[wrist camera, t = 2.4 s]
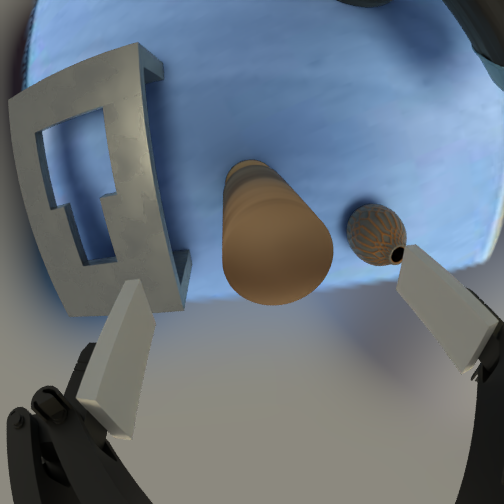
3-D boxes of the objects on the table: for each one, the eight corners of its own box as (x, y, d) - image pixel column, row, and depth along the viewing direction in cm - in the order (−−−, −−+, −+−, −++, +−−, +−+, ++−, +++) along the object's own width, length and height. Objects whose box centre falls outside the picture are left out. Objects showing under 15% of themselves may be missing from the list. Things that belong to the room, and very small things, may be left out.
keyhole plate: (55, 98, 21) (8, 99, 13) (162, 63, 22) (137, 42, 14) (95, 274, 33) (69, 316, 25) (192, 264, 33) (183, 310, 25)
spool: (220, 160, 28) (214, 212, 13) (276, 155, 28) (335, 201, 13) (226, 213, 31) (229, 311, 16) (279, 207, 31) (329, 297, 16)
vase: (332, 243, 34) (361, 281, 26) (347, 192, 31) (384, 218, 23) (375, 249, 35) (408, 284, 27) (391, 203, 32) (431, 229, 24)
